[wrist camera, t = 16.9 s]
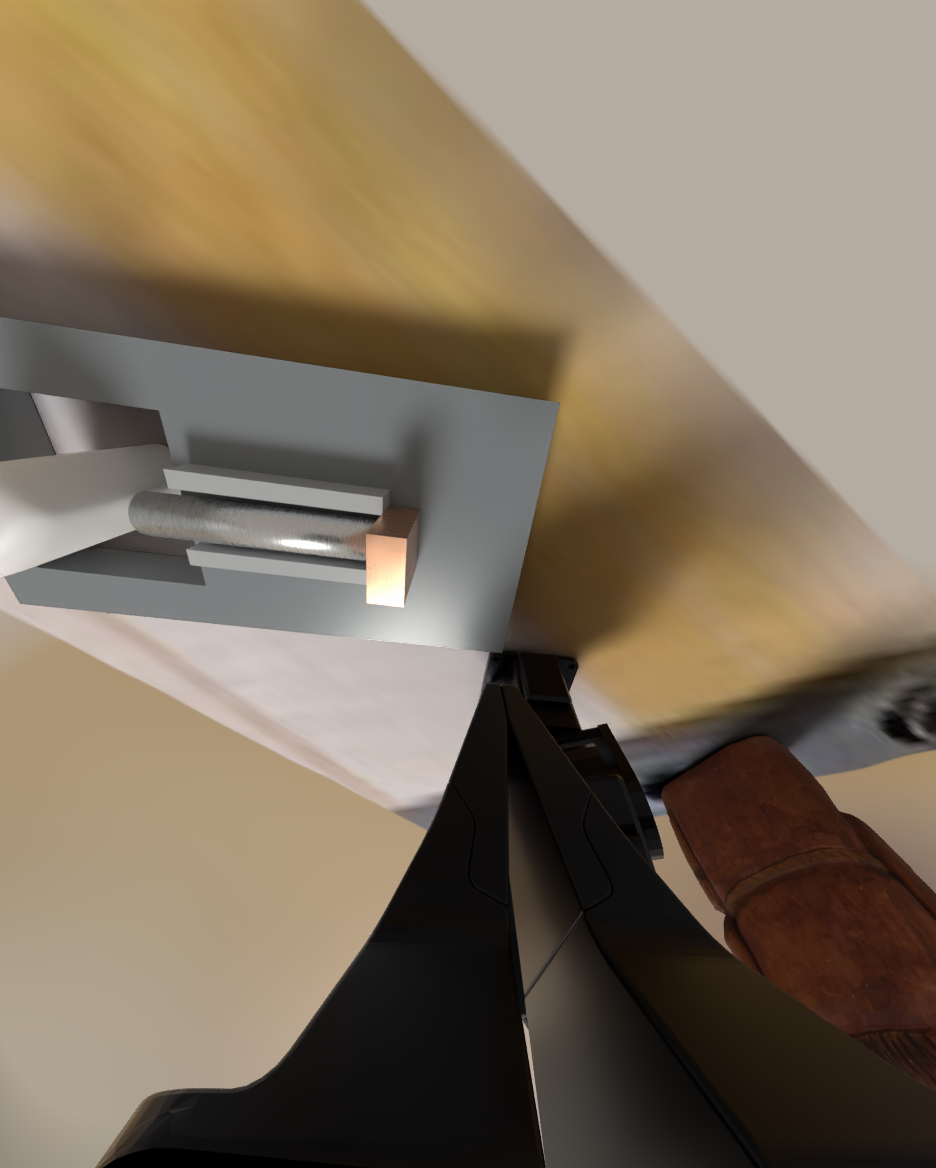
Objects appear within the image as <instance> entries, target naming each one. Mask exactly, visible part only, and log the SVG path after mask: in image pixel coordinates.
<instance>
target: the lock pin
mask: <svg viewBox="0 0 936 1168" xmlns="http://www.w3.org/2000/svg"><path fill="white" fill-rule="evenodd" d="M128 515H129V519H130V522H131V524H132V526H133V527H134V528H135V529H136V530H137V531H138V532H139V533H141V534H143V535H148V536H156V537H164V538H173V539H181V540H190V541H199V542H207V543H216V544H224V545H233V546H241V547H250V548H258V549H267V550H275V551H284V552H292V553H301V554H309V555H318V556H326V557H335V558H343V559H352V560H360V561H366V577H367V603H370V604H380V605H389V606H398V607H404V604H405V601H406V598H407V595H408V592H409V588H410V585H411V582H412V579H413V576H414V573H415V570H416V567H417V552H418V540H419V521H420V510H418V509H411V508H403V507H395V506H388V507H387V508H386V510H385V511H384V512H383V513H382V515H381V516H380V517H379V518H378V520H377V519H369V518H361V517H353V516H345V515H337V514H329V513H321V512H313V511H305V510H297V509H290V508H282V507H274V506H266V505H258V504H250V503H242V502H234V501H226V500H218V499H210V498H202V497H194V496H186V495H178V494H170V493H162V492H154V491H141V492H139V493H137V494H136V495H135V496H134V497H133V498H132V499H131V501H130V504H129V508H128Z"/></svg>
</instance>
